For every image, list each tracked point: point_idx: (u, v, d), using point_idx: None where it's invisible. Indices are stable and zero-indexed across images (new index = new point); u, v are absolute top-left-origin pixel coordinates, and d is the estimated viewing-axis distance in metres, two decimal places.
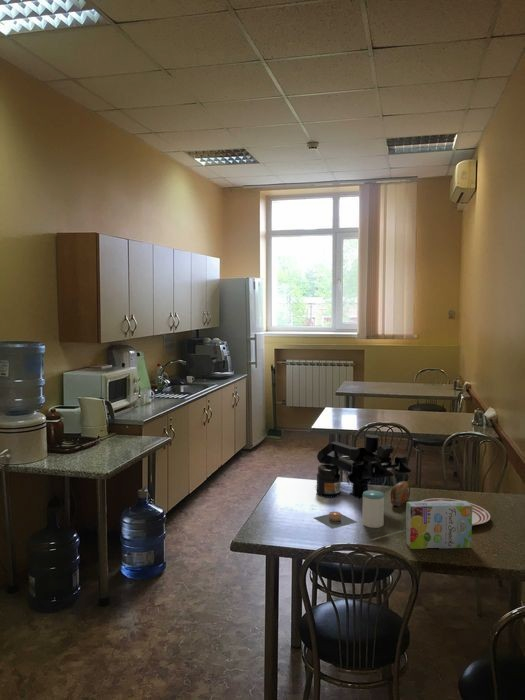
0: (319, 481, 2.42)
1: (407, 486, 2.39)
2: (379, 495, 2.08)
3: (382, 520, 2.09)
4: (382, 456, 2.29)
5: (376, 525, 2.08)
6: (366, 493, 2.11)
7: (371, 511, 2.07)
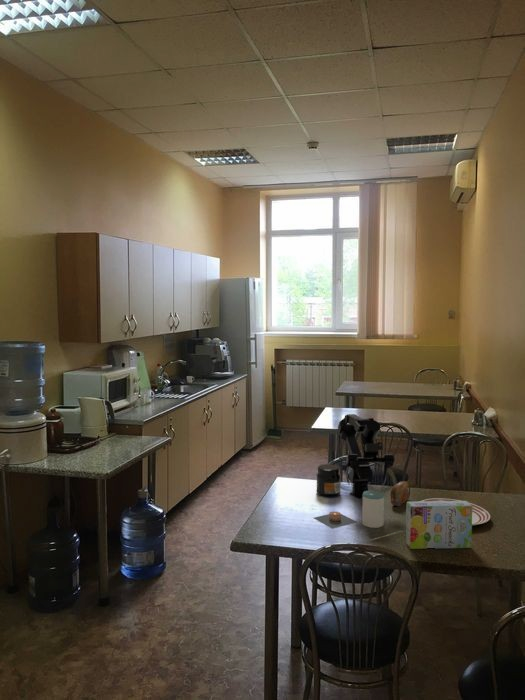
0: (319, 481, 2.42)
1: (407, 486, 2.39)
2: (379, 495, 2.08)
3: (382, 520, 2.09)
4: (367, 452, 2.25)
5: (376, 525, 2.08)
6: (366, 493, 2.11)
7: (371, 511, 2.07)
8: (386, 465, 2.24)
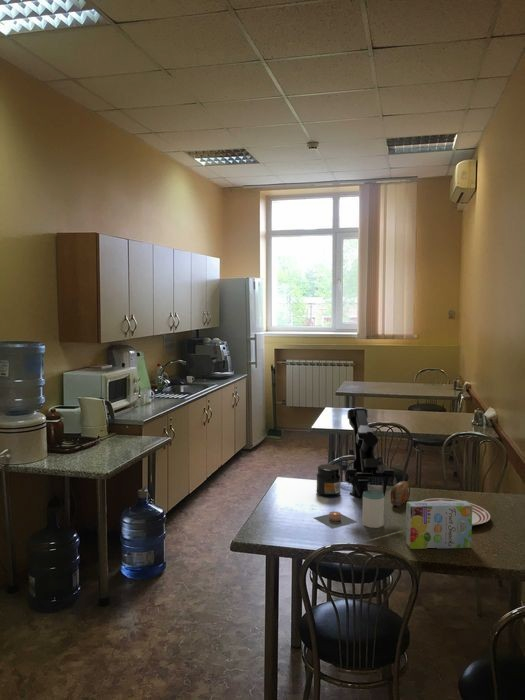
0: (319, 481, 2.42)
1: (407, 486, 2.39)
2: (379, 495, 2.08)
3: (382, 520, 2.09)
4: (366, 467, 2.17)
5: (376, 525, 2.08)
6: (366, 493, 2.11)
7: (371, 511, 2.07)
8: (386, 481, 2.16)
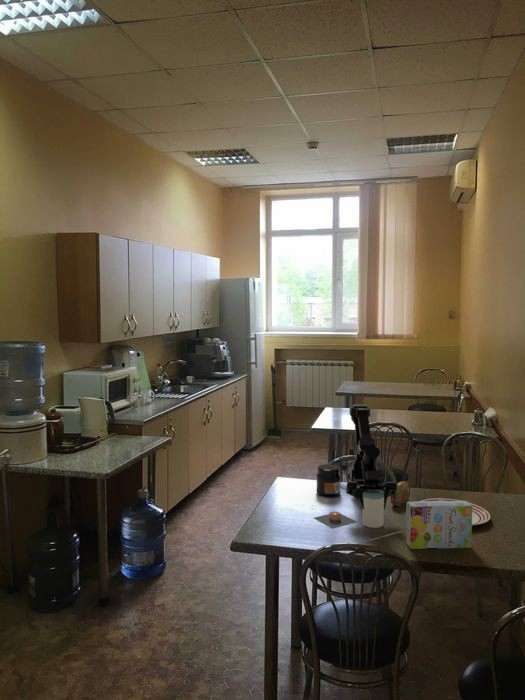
0: (319, 481, 2.42)
1: (407, 486, 2.39)
2: (379, 495, 2.08)
3: (382, 520, 2.09)
4: (368, 479, 2.13)
5: (376, 525, 2.08)
6: (366, 493, 2.11)
7: (371, 511, 2.07)
8: (386, 494, 2.12)
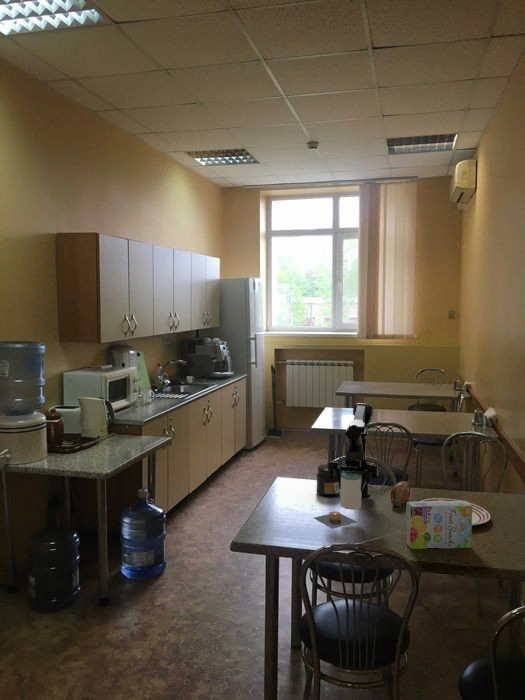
0: (319, 481, 2.42)
1: (407, 486, 2.39)
2: (355, 476, 2.09)
3: (358, 502, 2.09)
4: (348, 460, 2.14)
5: (351, 506, 2.08)
6: (344, 474, 2.12)
7: (346, 491, 2.08)
8: (365, 476, 2.11)
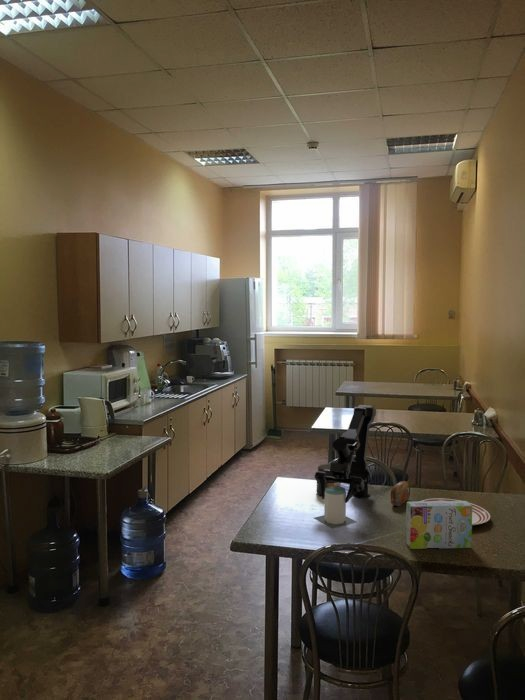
0: None
1: (407, 486, 2.39)
2: (338, 491, 2.11)
3: (341, 517, 2.11)
4: (333, 471, 2.16)
5: (333, 520, 2.11)
6: (329, 488, 2.15)
7: (329, 506, 2.11)
8: (351, 488, 2.12)
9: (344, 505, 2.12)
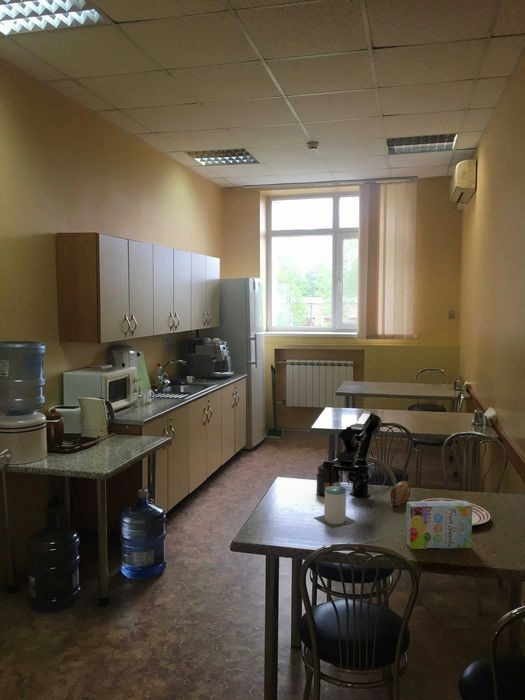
0: (319, 481, 2.42)
1: (407, 486, 2.39)
2: (338, 491, 2.11)
3: (341, 517, 2.11)
4: (341, 460, 2.24)
5: (333, 520, 2.11)
6: (329, 488, 2.15)
7: (329, 506, 2.11)
8: (358, 476, 2.20)
9: (344, 505, 2.12)
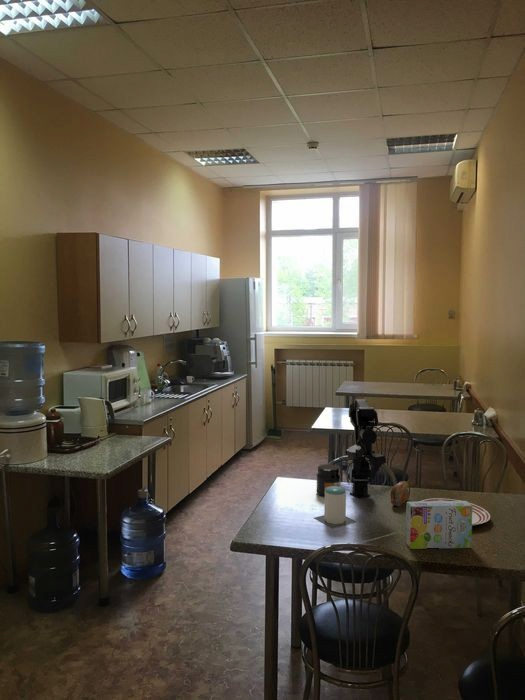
0: (319, 481, 2.42)
1: (407, 486, 2.39)
2: (338, 491, 2.11)
3: (341, 517, 2.11)
4: None
5: (333, 520, 2.11)
6: (329, 488, 2.15)
7: (329, 506, 2.11)
8: (372, 467, 2.23)
9: (344, 505, 2.12)
